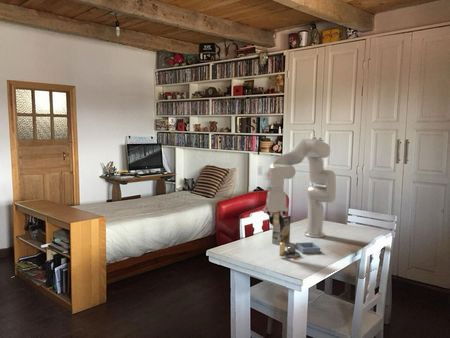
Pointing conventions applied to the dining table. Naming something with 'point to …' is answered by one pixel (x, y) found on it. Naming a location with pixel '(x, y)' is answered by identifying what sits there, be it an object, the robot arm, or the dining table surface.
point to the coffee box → (282, 231)
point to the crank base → (293, 255)
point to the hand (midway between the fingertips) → (275, 223)
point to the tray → (307, 248)
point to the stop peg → (275, 218)
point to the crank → (289, 249)
